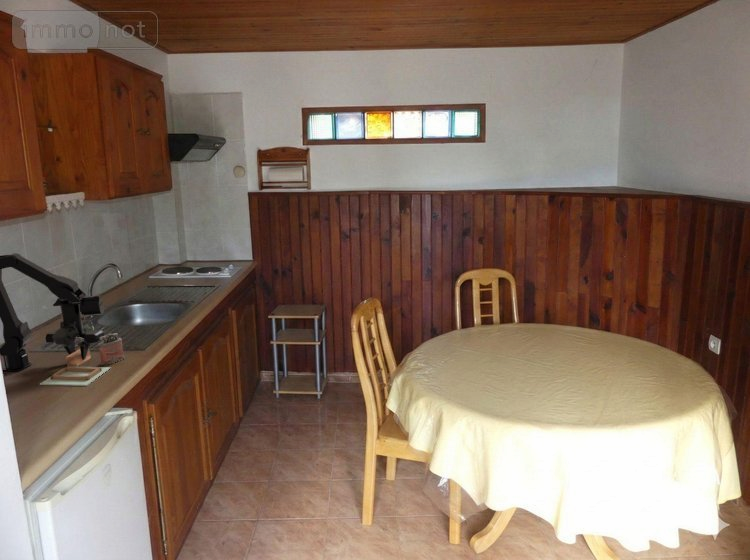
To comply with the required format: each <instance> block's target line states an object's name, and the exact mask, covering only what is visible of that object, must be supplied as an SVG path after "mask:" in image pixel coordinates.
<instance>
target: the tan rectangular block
mask: <svg viewBox="0 0 750 560" xmlns="http://www.w3.org/2000/svg"><path fill="white" fill-rule="evenodd" d="M91 358H92V357H91V351H90V348H89V349H88V352H87V355H86V358H85V359H84V360H82V356H81V350H80V348H79V349H77V350H75V352H74V353H72V354H70V355H69V354H68V355H67V356H65V360H66V367H80V365H81V366H82V364H84V363H85V362H88V361H89V360H90V359H91Z"/></svg>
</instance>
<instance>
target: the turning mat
mask: <svg viewBox="0 0 750 560" xmlns="http://www.w3.org/2000/svg"><path fill="white" fill-rule="evenodd" d="M110 368H111V369H112V367H110V366H109V367H106V366H103V367H102V366H77V367H67V366H65V367H63V368H61V369H59V370H58V371H56V372H54V373H53V374H51V375H50V376H49V377H48V378H47V379H45V380H44V381H42V382H40V383H39V385H40V386H71V387H72V386H74V387H80V386H82V387H87V386H89V385H90V384H92V383H93V382H94V381H96V380H97V379H99V378H100V377H101V375H102V374H103V373H104V374H106V373H107V372H109V371H110V370H111V369H110ZM109 369H110V370H109ZM108 370H109V371H108ZM106 371H107V372H106ZM105 372H106V373H105ZM104 374H103V375H104ZM103 375H102V376H103ZM99 376H100V377H99ZM98 377H99V378H98ZM96 378H97V379H96ZM95 379H96V380H95ZM91 382H92V383H91Z"/></svg>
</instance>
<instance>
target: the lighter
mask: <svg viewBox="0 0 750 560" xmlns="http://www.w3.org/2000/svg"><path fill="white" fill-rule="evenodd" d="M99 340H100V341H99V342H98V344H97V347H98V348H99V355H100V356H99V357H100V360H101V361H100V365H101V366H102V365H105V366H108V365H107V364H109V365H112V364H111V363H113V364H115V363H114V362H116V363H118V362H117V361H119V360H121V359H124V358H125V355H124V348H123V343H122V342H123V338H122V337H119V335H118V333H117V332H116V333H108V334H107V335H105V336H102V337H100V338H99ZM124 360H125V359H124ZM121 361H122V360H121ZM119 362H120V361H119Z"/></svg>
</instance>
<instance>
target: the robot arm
mask: <svg viewBox="0 0 750 560" xmlns="http://www.w3.org/2000/svg"><path fill="white" fill-rule="evenodd" d="M7 268H13V269H14V270H16V271H18V272H19V273H21V274H23V275H25V276H27V277H29V278H30V279H32V280H34V281H36V282H38V283H40V284H41V285H43V286H44V287H46V288H47V290H49V292H50V293H52V294H53V295H54V296H56V298H57V299H56V301H55V302H54V303H53V304H52V306H53V307H59V308H60V313H61V318H62V321H60V322H59V324H60V325H59V328H58V329H54V330H52V331H51V330H50V331H49V332H48V333H46V334H45V335H44V336H45V337H44V339H45V343H55V345H57V346H58V345H59V346H61V347H63V348H64V349H65V351H66V352H67V354H68V355H70V354H72V353H74V352H75V351H76V344H77V345H78V347H79V349H80V350H81V356H82V360H84V359H85V358H86V355H87V352H88V349H89V350H90V346H91V344H95V343H99V342H101V341H100V340H99V338H100V337H102V336H106V335H105V332H104V331H103V330H101V329H92V330H90V331H89V332H87V333H85V332H86V331H87V328H86V327H84V326H83V321H84V320H85V317H87V316H88V317H89V316H98V315H99V316H100V315H103V314H104V313H105V302H104V300H103V298H102V297H101V294H95V295H87V294H86V293H85V292H84V291H83V290H82V289H81V288H80V287H79V285H78V283H77V281H75V280H73V279H71V278H68V277H66V276H61V275H58V274H57V275H56V274H55V273H52V272H50V271H49V270H47V269H45V268H43V267H42V266H39V265H38V264H36V263H34V262H32V261H31V260H29V259H27V258H25V257H24V256H22V255H21V254H20V253H17V252H14V253H10V254H3V255H0V321H1V323H2V327H3V328H2V337H3V341H4V343H3V345H2V346H1V347H0V356H1V357H3V358H2V359H3V362H4V368H3V369H6V371H5V372H8V371H7V370H10V371H9V372H21V371H23V370H24V369H26V368H27V366H28V365H30V364H31V365H32V362H29V356H28V353H27V350H26V349H24V348H25V347H26V346H27V343H28V342H29V341H30V339H31V338H32V334H31V333H32V332H33V331H32V330H31V329H30V327H29V323H28V321H25V322H22V321H21V320H20V318H18V316H17V315H18V314H17V313H16V310H15V308H14V306H13V303H12V302H11V298H10V297H9V294H8V292H7V290H6V287H5V285H4V282H3V280H2V279H3V277H2V276H3V271H2V270H4V269H7ZM83 315H84V316H85V317H84V316H83ZM75 339H76V340H77V339H78V340H79V339H80V341H79V342H78V343H76V344H75V342H76V340H75ZM31 365H30V366H31ZM25 367H26V368H25ZM28 367H29V366H28ZM23 368H24V369H23ZM22 369H23V370H22ZM20 370H21V371H20Z"/></svg>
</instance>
